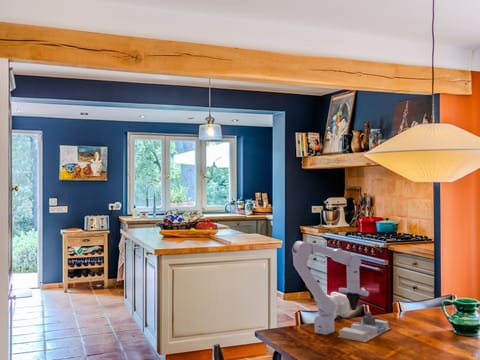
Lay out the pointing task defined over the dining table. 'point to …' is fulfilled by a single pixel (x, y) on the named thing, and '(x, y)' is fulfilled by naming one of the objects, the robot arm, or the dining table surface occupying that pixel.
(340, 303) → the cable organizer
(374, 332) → the grey stepped board
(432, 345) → the dining table surface
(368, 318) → the cord plug
